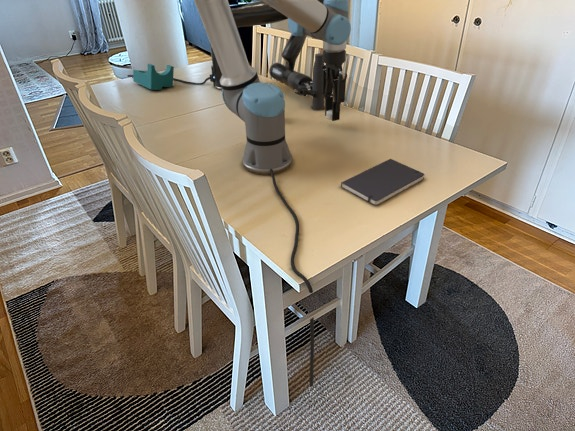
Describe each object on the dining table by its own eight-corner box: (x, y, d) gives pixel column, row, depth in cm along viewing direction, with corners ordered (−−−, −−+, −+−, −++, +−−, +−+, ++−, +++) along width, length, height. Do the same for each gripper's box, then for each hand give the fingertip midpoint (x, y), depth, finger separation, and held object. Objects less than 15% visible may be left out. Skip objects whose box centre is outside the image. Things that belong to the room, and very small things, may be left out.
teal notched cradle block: (172, 90, 189) (173, 66, 185) (150, 89, 182) (151, 65, 177) (154, 81, 200) (155, 59, 196) (133, 80, 193) (133, 57, 188)
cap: (337, 114, 147) (338, 109, 146) (339, 119, 144) (339, 114, 143) (325, 115, 147) (325, 109, 146) (326, 120, 144) (327, 114, 143)
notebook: (389, 163, 124) (340, 187, 113) (390, 158, 123) (341, 182, 112) (424, 178, 116) (375, 206, 105) (425, 174, 115) (376, 201, 104)
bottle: (325, 106, 164) (327, 53, 152) (322, 110, 161) (323, 56, 149) (314, 105, 166) (314, 52, 154) (310, 109, 162) (311, 55, 150)
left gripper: (284, 76, 165) (306, 87, 153) (314, 70, 170) (337, 81, 158) (285, 94, 169) (306, 107, 157) (313, 88, 175) (336, 99, 163)
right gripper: (358, 54, 127) (354, 124, 140) (331, 42, 139) (329, 107, 153) (338, 57, 124) (335, 128, 138) (311, 45, 137) (311, 111, 151)
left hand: (322, 94), depth 158 cm, fingers closed on bottle, 4 cm apart
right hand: (332, 117), depth 146 cm, fingers closed on cap, 4 cm apart
